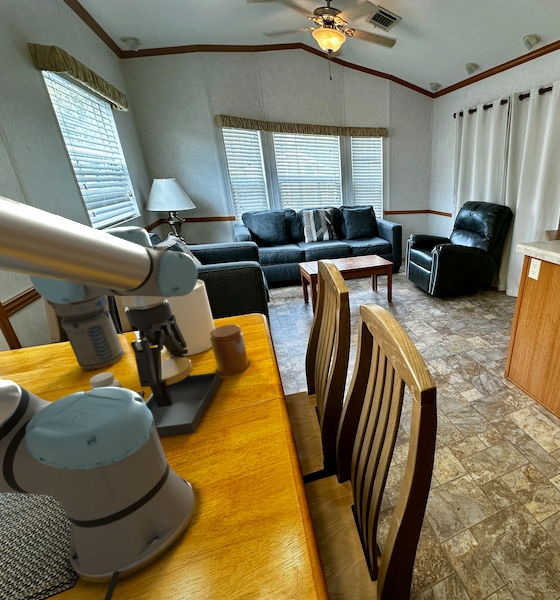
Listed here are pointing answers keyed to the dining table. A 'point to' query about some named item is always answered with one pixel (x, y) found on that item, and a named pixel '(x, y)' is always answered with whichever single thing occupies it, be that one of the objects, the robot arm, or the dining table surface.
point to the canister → (194, 318)
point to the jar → (229, 349)
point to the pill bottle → (104, 381)
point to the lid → (175, 369)
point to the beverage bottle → (91, 331)
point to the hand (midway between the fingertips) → (175, 391)
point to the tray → (184, 404)
